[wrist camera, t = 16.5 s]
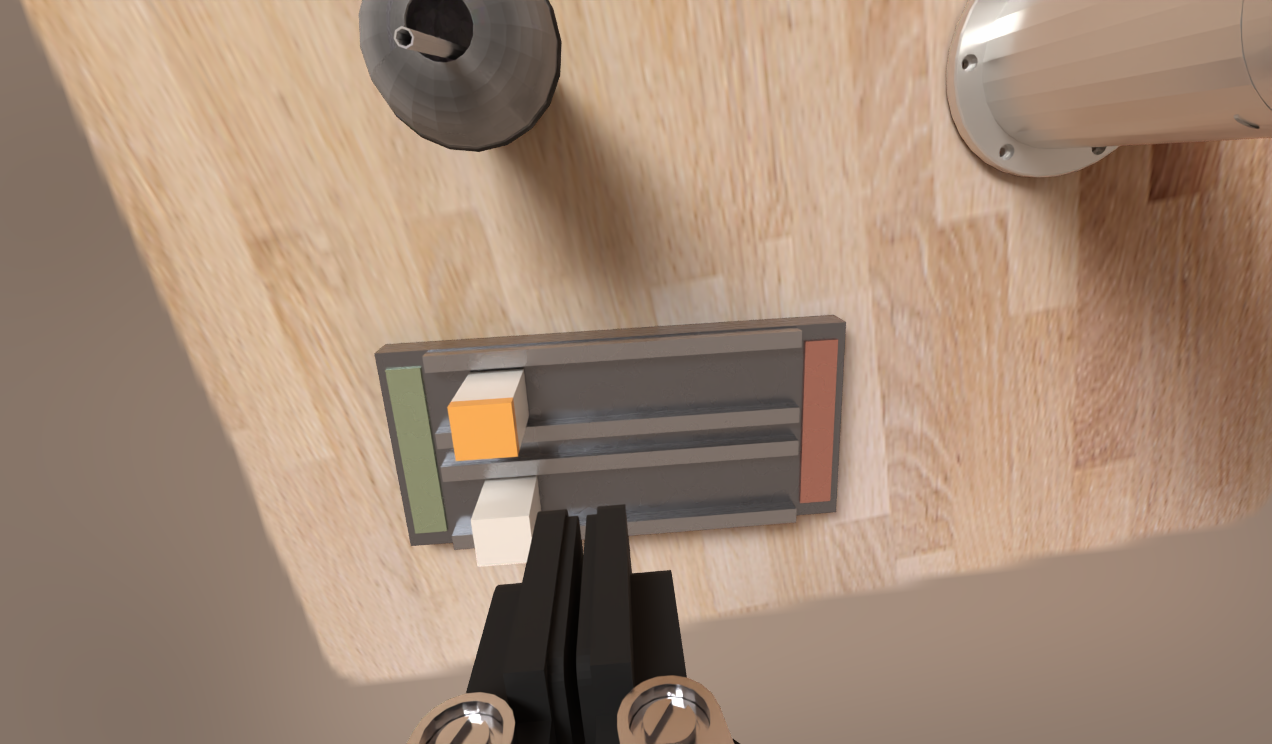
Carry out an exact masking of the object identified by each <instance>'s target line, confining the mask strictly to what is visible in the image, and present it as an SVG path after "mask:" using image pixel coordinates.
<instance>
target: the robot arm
mask: <svg viewBox="0 0 1272 744" xmlns="http://www.w3.org/2000/svg"><path fill="white" fill-rule="evenodd" d="M962 61H963V62H964V68H962ZM946 78H947V97H948V101H949V106H950V110H951V115H952V118H953V120H954V122H955V124H956V127H957V129H958V131H959V134H960V135H961V137H962V138H963V140H964V141H965V142H966V144H967V145H968V146H969V148H970V149H971V150H972V151H973V152H974V153H975V154H976V155H977V156H978V157H979V158H981V159H982V160H983V161H984V162H985V163H987V164H989V165H991V166H992V167H994V168H996V169H998V170H1000V171H1002V172H1006V173H1009V174H1013V175H1017V176H1024V177H1053V176H1061V175H1064V174H1068V173H1072V172H1076V171H1079V170H1081V169H1083V168H1086V167H1088V166H1090V165H1092V164H1094V163H1096V162H1098V161H1100V160H1101V159H1103V158H1104V157H1106V156H1107V155H1109V154H1110V153H1112V152H1113V151H1114V150H1116V149H1117V148H1118V147H1119V146H1124V145H1143V144H1162V143H1182V142H1201V141H1220V140H1239V139H1258V138H1272V0H969V1H968V2H967V4H966V7H965V9H964V11H963V13H962V15H961V17H960V19H959V21H958V23H957V25H956V29H955V32H954V35H953V39H952V42H951V45H950V48H949V56H948V63H947V71H946ZM1000 151H1001V153H1000V154H999V152H1000ZM406 744H740V743H738V742H737V741H735V740H734V739H732V737H731V734H730V731H729V729H728V726H727V724H726V721H725V718H724V716H723V713H722V711H721V708H720V706H719V704H718V702H717V701H716V699H715V697H714V696H713V694H712V693H711V692H710V691H709V690H708V689H707V688H705V687H704V686H703V685H702V684H700V683H698V682H696V681H694V680H691V679H689V678H687V676H686V669H685V662H684V655H683V648H682V641H681V634H680V627H679V620H678V613H677V606H676V599H675V592H674V586H673V579H672V572H671V570H667V571H655V572H644V573H632V569H631V558H630V547H629V536H628V525H627V515H626V505H625V504H621V505H609V506H598V507H597V514H593V515H587V517H586V529H585V543H584V555H583V547H582V538H581V530H580V522H579V517H578V516H570V517H569V516H568V511H567V509H562V510H550V511H539V512H538V513H537V517H536V521H535V526H534V531H533V535H532V540H531V544H530V549H529V554H528V558H527V563H526V568H525V572H524V577H523V582H522V583H516V584H504V585H498V586H497V587H496V588H495V591H494V594H493V597H492V601H491V605H490V608H489V612H488V615H487V619H486V623H485V626H484V630H483V634H482V637H481V641H480V644H479V648H478V652H477V655H476V659H475V662H474V666H473V670H472V673H471V677H470V681H469V684H468V688H467V691H466V694H462V695H459V696H456V697H453V698H450V699H448V700H446V701H445V702H443V703H441V704H440V705H438V706H436V707H434V708H433V709H432V710H431V711H430V712H429V713H428V714H427V715H425V716H424V717H423V718H422V719H421V721H420V722H419V724H418V725H417V726H416V728H415V729H414V731H413V732H412V734H411V736H410V738H409V740H408V741H407V743H406Z"/></svg>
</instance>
